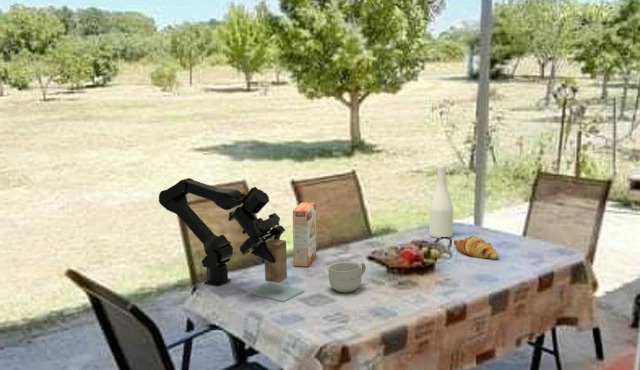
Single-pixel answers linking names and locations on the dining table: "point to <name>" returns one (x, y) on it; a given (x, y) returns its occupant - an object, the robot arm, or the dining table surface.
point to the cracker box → (304, 234)
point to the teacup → (346, 275)
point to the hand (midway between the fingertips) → (279, 260)
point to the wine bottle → (441, 208)
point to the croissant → (476, 247)
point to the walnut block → (279, 268)
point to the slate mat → (277, 292)
